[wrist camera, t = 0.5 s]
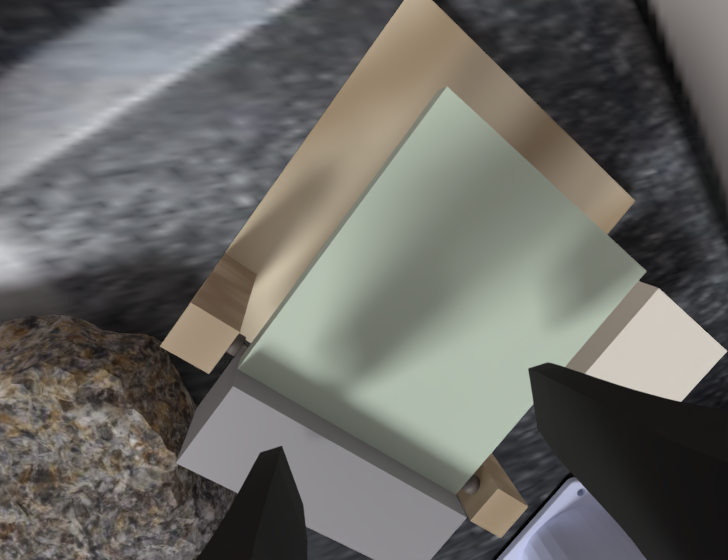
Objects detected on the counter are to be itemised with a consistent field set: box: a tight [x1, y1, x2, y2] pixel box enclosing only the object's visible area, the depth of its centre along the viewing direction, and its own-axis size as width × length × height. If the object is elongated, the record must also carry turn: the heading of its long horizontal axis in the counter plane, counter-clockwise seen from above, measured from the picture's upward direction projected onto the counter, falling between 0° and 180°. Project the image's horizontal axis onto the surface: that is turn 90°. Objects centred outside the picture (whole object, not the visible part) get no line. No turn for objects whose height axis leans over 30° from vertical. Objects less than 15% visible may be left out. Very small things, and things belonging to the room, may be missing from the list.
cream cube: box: [565, 281, 727, 402], centre depth 21 cm, size 5×5×5 cm
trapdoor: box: [176, 87, 646, 560], centre depth 15 cm, size 9×14×3 cm
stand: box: [160, 0, 635, 538], centre depth 17 cm, size 14×16×8 cm
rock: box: [0, 315, 237, 560], centre depth 18 cm, size 13×6×15 cm
